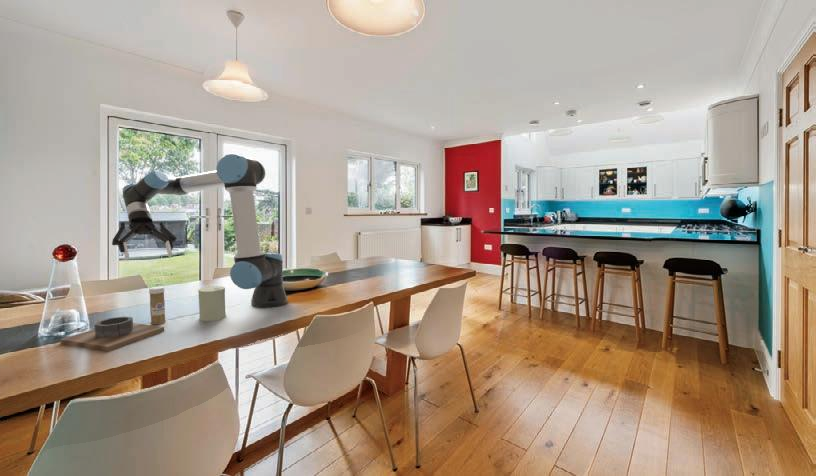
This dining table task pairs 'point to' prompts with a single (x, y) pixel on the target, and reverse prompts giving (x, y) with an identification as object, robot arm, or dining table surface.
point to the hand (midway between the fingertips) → (149, 256)
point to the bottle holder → (112, 334)
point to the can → (212, 303)
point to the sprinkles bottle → (157, 305)
